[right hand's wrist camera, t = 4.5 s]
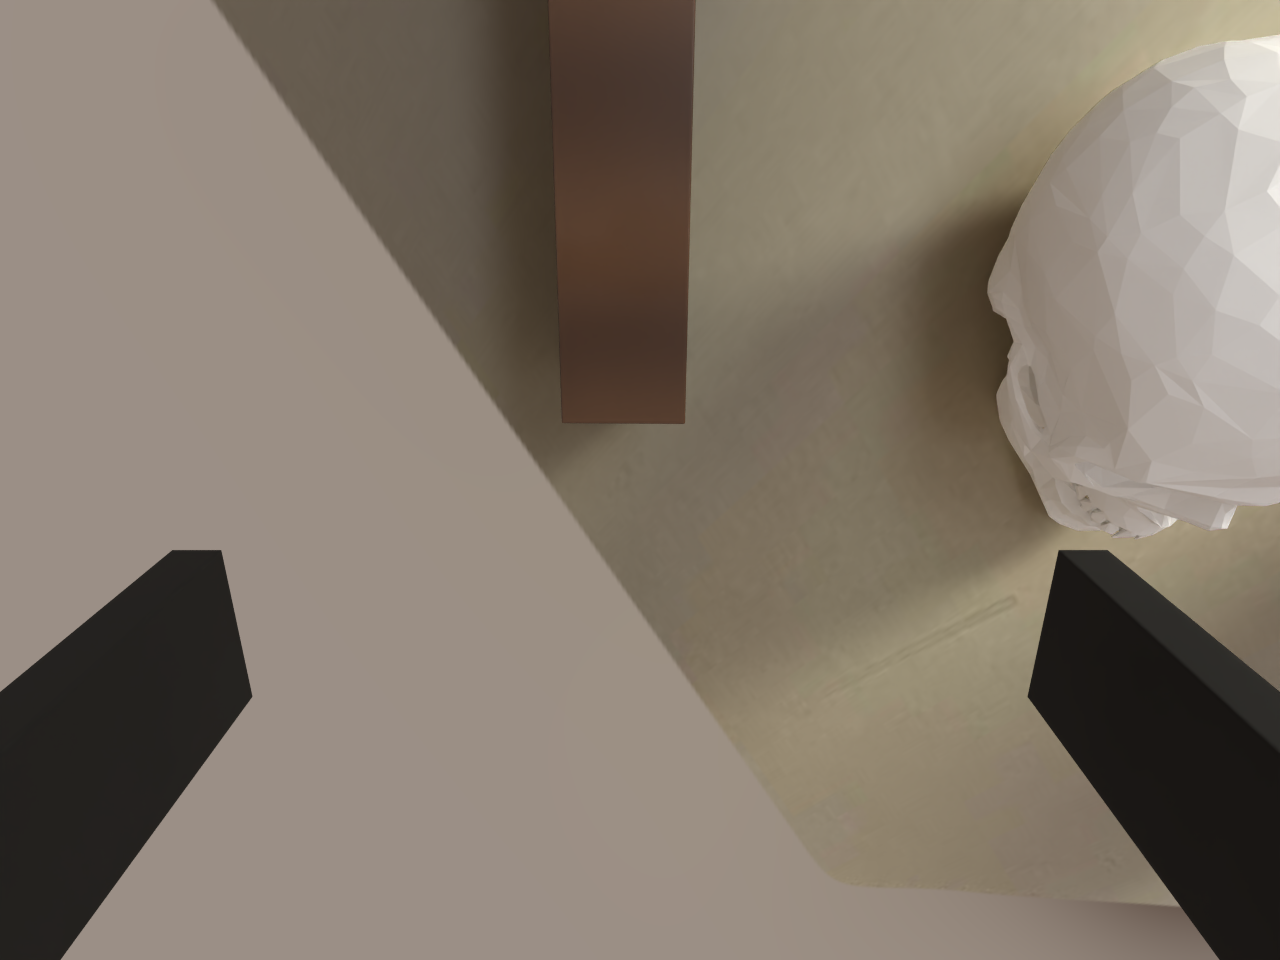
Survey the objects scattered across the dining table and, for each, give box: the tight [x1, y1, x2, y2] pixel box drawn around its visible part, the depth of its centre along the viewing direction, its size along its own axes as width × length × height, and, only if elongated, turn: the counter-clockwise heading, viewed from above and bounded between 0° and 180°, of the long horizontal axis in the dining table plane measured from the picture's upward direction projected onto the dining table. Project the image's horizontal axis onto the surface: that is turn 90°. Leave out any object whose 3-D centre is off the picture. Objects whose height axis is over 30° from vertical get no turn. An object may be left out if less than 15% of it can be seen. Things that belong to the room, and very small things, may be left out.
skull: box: [987, 35, 1280, 539], centre depth 32 cm, size 13×22×16 cm, turn 10°
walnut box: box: [548, 0, 696, 424], centre depth 32 cm, size 24×5×9 cm, turn 0°
